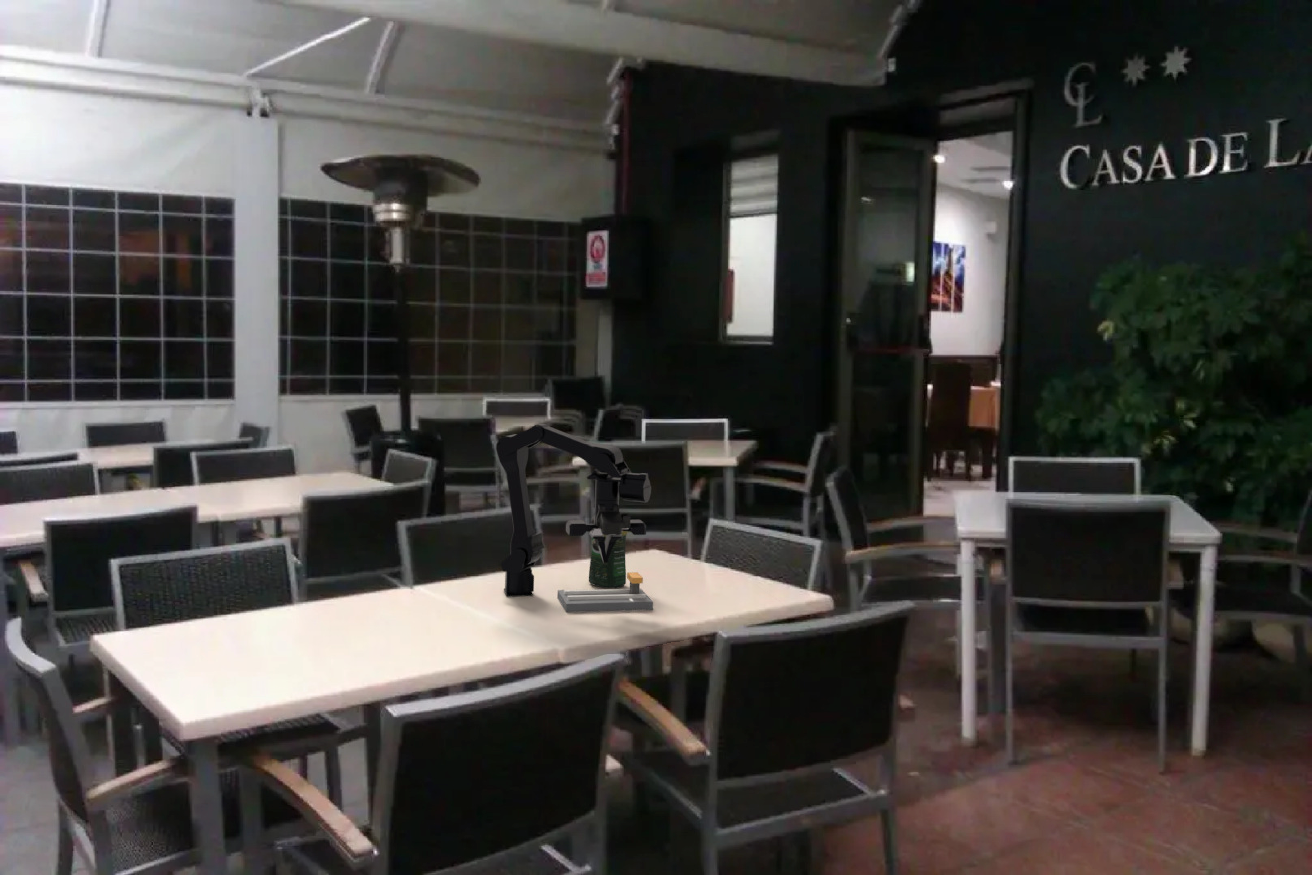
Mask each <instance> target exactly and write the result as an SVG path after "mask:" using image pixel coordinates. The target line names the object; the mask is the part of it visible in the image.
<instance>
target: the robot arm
mask: <svg viewBox="0 0 1312 875" xmlns="http://www.w3.org/2000/svg"><path fill="white" fill-rule="evenodd" d="M539 443H543V444H545V445H548V446H550V447H553V448H555V449H558V450H561V451H563V452H564V453H568V454H570V455H572V456H576V457H578V458H580V459H581V460H583V461H584V462H586V464H588V465H589V466H590V467H592V468H594V469H593V471H592V472H591V473H590V474H589V475H588V476H586V479H587V480H591V481H595V487H594V488H595V490H594V492H595V493H594V515H595V518H594V524H591V523H586V522H585V521H584V520H583V519H580V520H579V519H577V520H576V519H574V520H572V519H571V520H569V519H568V521H566V523H565V532H566V533H567V535H568V536H572V537H579V536H580V537H583V536H584V535H585V534H587V532H588V534H589V536H590V537H591V539H592V538H593V539H595V540H596V543H597V545H598V548H599V551H600V554H601V557H602V560H603V563H607V562H608V559H609V557H610V554H611V551H612V549H613V546H614V545H615V543H616V541H617V540H618V539H620V538H622V537H623V536H622V535H621V534H622V531H628V532H631V534H632V535H634V536H643V535H647V525H646V523H645V522H644V521H642V520H641V519H631V513H629V512H628V513H620V502H619V501H620V498H622V500H623V501H628V502H636V503H637V502H640V503H648V502H649V501H650V497H651V494H652V486H651V481H650V479H649V474H648V472H647V473H643V472H642V473H635V472H632V470H631V469H630V467H628V465H627V463H626V461H625V460H624V455H623V452H622V450H621V449H620V448H619V447H617V446H614V445H611V444H604V443H597V442H591V441H587V440H585V439H582V438H579V437H578V436H575V435H572V434H570V433H567V432H564V431H561V430H559V429H556V428H554V427H552V426H549V425H548V424H546V423H539V424H534V425H533V426H531V427H530V428H528V429H525V430H523V431H522V432H519V433H517V434H516V433H515V434H511V435H506V436H502V437H501V438H499V440H498V441H497V442H496V445H495V450H496V455H497V457H498V461H499V463H500V465H501V467H502V469H503V470H504V471H505V474H506V480H507V481H506V482H507V489H508V496H509V503H510V504H509V505H510V512H511V519H512V526H513V532H512V535H511V540H510V546H509V547H510V552H509V553H510V554H509V555H508V556H507V557H506V558H505V559H503V561H501V563H500V567H501V569H502V571H503V572H505V573H504V574H505V576H504V588H503V591H504V594H505V596H506V597H528V596H529V597H530V596H531V597H532V596H533V593H534V591H535V575H534V574H533V569H532V568H533V567H535V565H536V563H537V561H538V560H539V559H540V558H541V556H542V555H543V550H544V549H545V545H544V543H543V533H542V532H538V533H537V532H536V530H535V528H534V526H533V519H532V512H531V507H530V506H531V505H530V498H529V490H528V483H527V482H528V481H527V475H526V468H527V464H528V461H529V449H531V448H532V447H534V446H536V445H538V444H539ZM599 527H600V528H599ZM603 534H604V535H606V544H605V536H604V535H603Z"/></svg>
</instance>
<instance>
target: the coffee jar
mask: <svg viewBox="0 0 1312 875" xmlns="http://www.w3.org/2000/svg"><path fill="white" fill-rule="evenodd" d="M594 518H595V514H593V515H592V517H591V520H590V524H594ZM599 528H600V527H599ZM628 532H629V531H622V534H621V535H622V536H623V537H622V538H620V539H618V540H617V541H616V543H615V545H614V546H613V549H612V551H611V554H610V557H609V559H608V562H607V563H603V560H602V557H601V554H600V551H599V548H598V545H597V543H596V540H595V539H593V538H592V537H591V546H590V547H591V548H590V549H591V550H590V560H589V561H590V562H589V570H588V571H589V572H588V583H589V585H593V586H596V587H600V588H602V589H603V588H604V589H621V588H622V587H624V586H625V585H626V584H627V570H626V566H627V565H626V538H627V535H628ZM603 535H604V534H603ZM604 536H605V544H606V535H604Z"/></svg>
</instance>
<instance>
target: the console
mask: <svg viewBox="0 0 1312 875" xmlns="http://www.w3.org/2000/svg"><path fill="white" fill-rule="evenodd" d="M629 591H630V588H604V589H603V588H600V589H598V588H595V589H559V590H558V589H557V600H558V602H559V603H560V604H561V607H562V608H563V610H564V611H565V612H566V613H579V612H580V613H584V612H585V613H587V612H589V613H591V612H617V611H618V612H621V611H653V610H654V600H653V599H651V597H650V596H649V595H648V594H647V593H645V591H644V590H643V589H642V588H639V594H629Z"/></svg>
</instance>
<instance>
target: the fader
mask: <svg viewBox="0 0 1312 875" xmlns="http://www.w3.org/2000/svg"><path fill="white" fill-rule="evenodd" d="M627 579H628V581H629V589H630V591H629V594H639V588H640V586H641V585H640V584H644V583H643V582H644V578H643V575H641V574H640V573H639V572H638V571H637V572H636V571H635V572H633V571H632V572H626V580H627Z"/></svg>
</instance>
